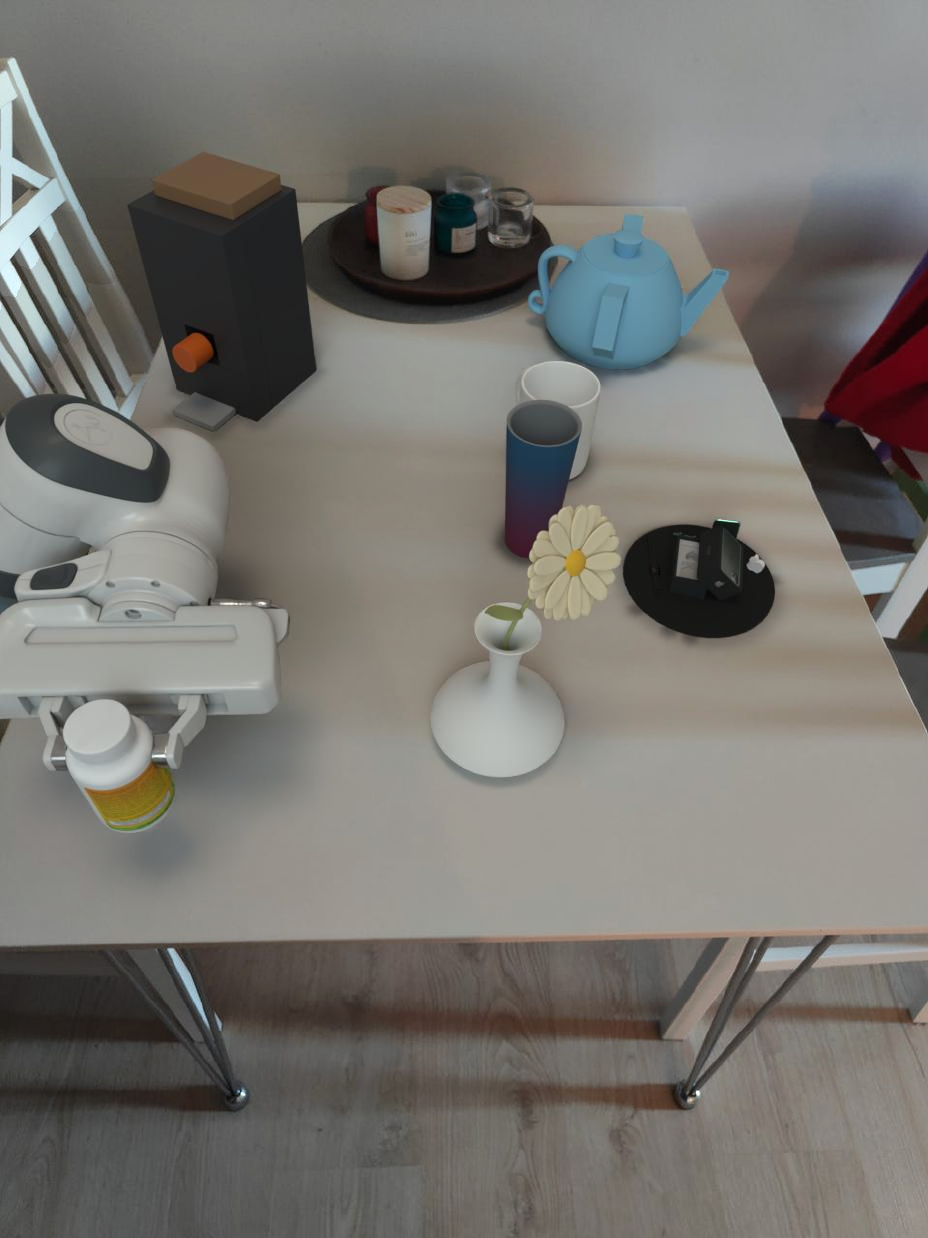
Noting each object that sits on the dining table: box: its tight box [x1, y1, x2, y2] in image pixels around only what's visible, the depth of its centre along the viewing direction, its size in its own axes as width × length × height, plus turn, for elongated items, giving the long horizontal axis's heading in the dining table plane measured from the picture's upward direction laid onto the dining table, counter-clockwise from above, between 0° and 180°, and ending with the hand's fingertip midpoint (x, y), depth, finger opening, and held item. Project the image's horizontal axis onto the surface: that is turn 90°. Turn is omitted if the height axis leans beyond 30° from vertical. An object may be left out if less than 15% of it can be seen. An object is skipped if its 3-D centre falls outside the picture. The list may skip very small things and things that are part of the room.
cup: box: [504, 400, 582, 559], centre depth 82 cm, size 7×7×15 cm
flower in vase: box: [429, 503, 622, 778], centre depth 64 cm, size 13×11×25 cm
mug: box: [515, 360, 602, 481], centre depth 93 cm, size 12×8×10 cm
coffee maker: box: [126, 151, 317, 432], centre depth 94 cm, size 16×12×24 cm
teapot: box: [527, 213, 730, 370], centre depth 108 cm, size 19×19×14 cm
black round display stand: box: [622, 518, 776, 639], centre depth 83 cm, size 15×15×6 cm
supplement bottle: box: [62, 699, 177, 834], centre depth 56 cm, size 5×5×10 cm
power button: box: [172, 333, 213, 372], centre depth 93 cm, size 3×3×3 cm
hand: (110, 765), depth 54 cm, fingers closed on supplement bottle, 5 cm apart
